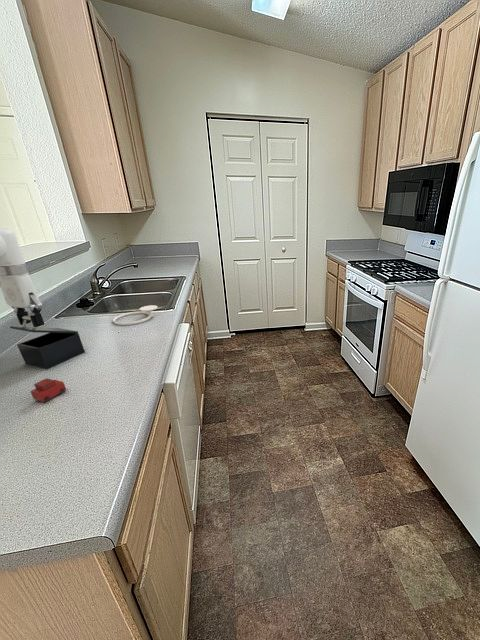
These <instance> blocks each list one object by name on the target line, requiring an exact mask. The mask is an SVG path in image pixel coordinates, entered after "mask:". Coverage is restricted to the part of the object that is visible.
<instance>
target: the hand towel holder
mask: <svg viewBox="0 0 480 640" xmlns="http://www.w3.org/2000/svg"><path fill="white" fill-rule="evenodd" d="M157 308H158V305H152V304H150V305H145V306H142V307H139V311H130V312H125V313H123V314H122V313H121V314H119V315H117V316H114V317H113V319H112V323H113V324H115V325H118V326H130V325H137V324H141V323H144V322H146V321H148V320H150V319H151V318H152V317H154V315H153V313H152V311H155V310H157ZM141 314H142V315H147V317H145V318H142V319H139V320H135V321H129V322H125V321H124V322H121V321H120V322H119V321H117V320H118V319H120V318H122V317H123V318H124V317H126V316H131V315H141Z"/></svg>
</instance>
